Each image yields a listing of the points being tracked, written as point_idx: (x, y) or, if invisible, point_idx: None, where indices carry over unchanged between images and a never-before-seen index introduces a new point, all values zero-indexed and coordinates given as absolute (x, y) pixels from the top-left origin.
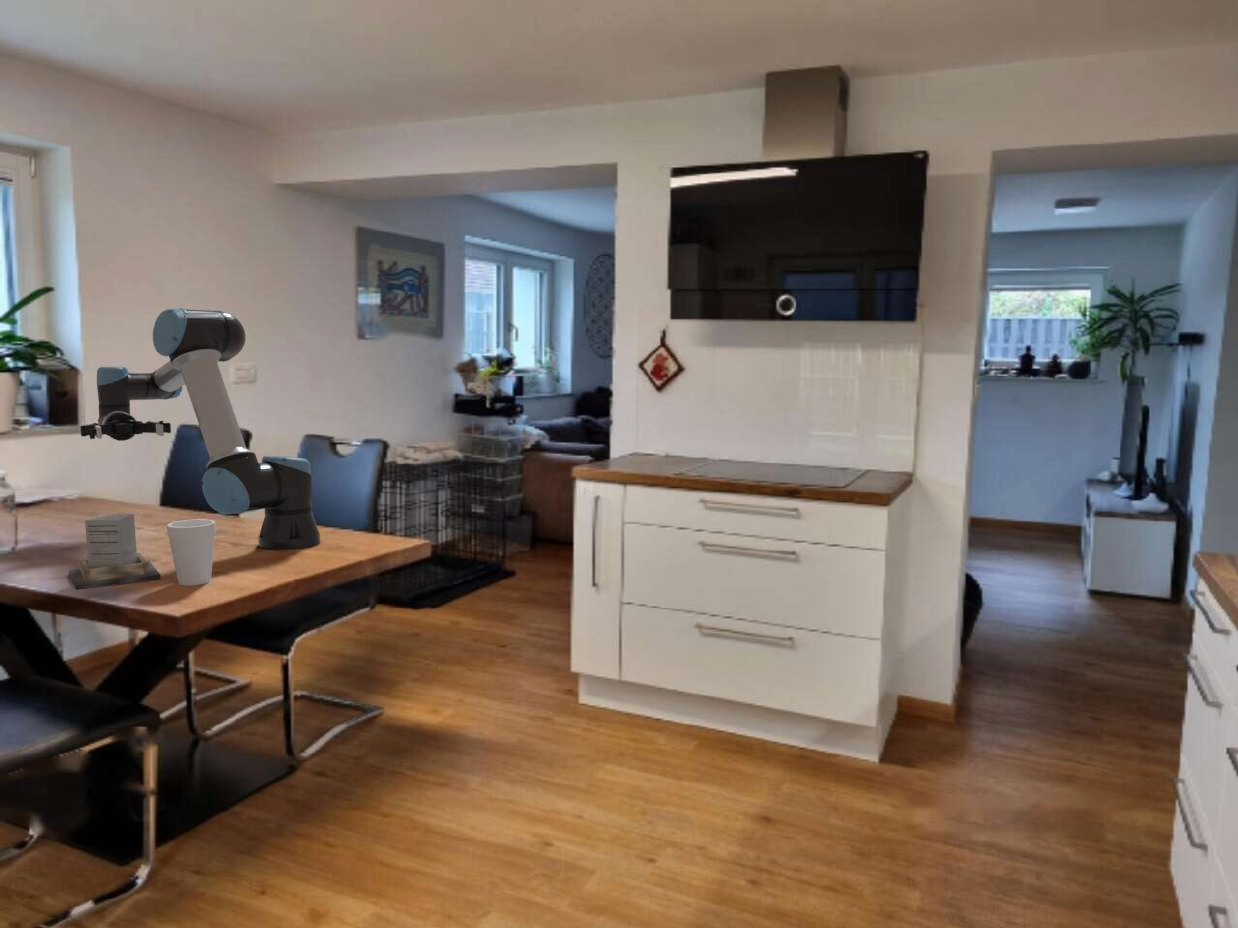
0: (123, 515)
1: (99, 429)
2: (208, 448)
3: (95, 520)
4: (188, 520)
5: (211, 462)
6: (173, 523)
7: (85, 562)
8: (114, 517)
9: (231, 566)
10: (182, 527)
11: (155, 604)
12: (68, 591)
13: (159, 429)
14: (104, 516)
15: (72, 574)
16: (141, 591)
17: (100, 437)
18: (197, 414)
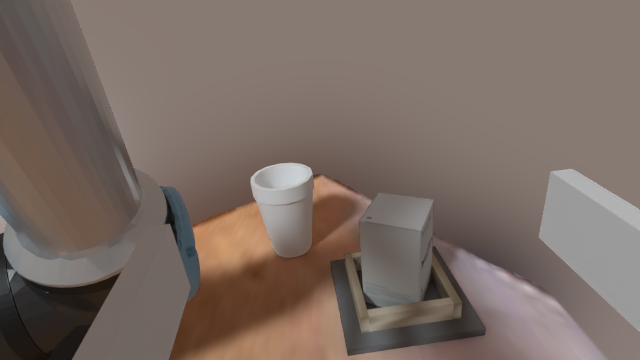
0: (375, 211)
1: (558, 182)
2: (134, 178)
3: (415, 197)
4: (280, 188)
5: (162, 191)
6: (302, 181)
7: (442, 281)
8: (388, 203)
9: (226, 298)
10: (296, 163)
11: (339, 197)
12: (442, 249)
13: (172, 268)
14: (407, 210)
15: (463, 298)
16: (353, 230)
17: (546, 230)
18: (95, 73)
